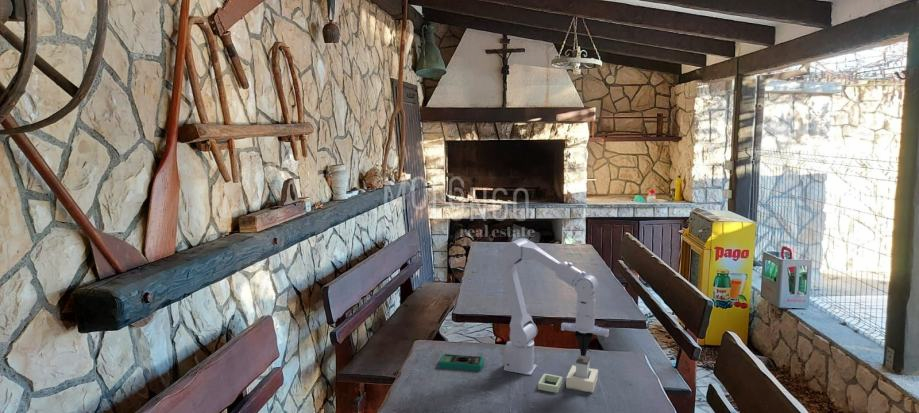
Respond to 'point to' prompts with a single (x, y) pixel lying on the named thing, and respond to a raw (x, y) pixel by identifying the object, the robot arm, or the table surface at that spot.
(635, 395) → the table surface
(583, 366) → the plug
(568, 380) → the frame
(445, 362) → the digital multimeter
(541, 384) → the pale green rectangular frame
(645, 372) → the table surface
